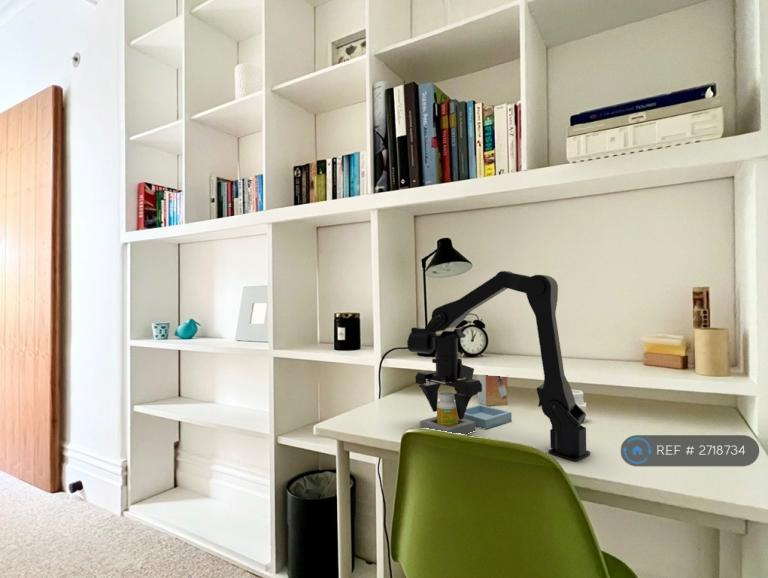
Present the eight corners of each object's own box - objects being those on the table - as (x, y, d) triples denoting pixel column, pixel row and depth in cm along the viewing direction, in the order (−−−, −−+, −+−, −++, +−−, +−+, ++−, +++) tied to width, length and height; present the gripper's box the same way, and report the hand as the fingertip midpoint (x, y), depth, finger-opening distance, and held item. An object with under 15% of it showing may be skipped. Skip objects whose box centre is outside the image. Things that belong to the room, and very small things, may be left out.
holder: (475, 431, 110) (475, 422, 110) (448, 440, 104) (448, 430, 104) (447, 422, 118) (447, 413, 118) (420, 430, 112) (420, 420, 112)
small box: (485, 406, 134) (485, 373, 134) (477, 402, 139) (476, 370, 139) (508, 404, 136) (507, 371, 136) (499, 400, 141) (498, 368, 142)
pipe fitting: (559, 422, 117) (559, 393, 117) (562, 415, 123) (561, 387, 123) (585, 425, 114) (584, 395, 114) (586, 418, 120) (586, 389, 120)
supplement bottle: (441, 435, 108) (440, 396, 108) (434, 428, 113) (433, 392, 113) (461, 433, 109) (460, 395, 109) (453, 427, 114) (453, 390, 114)
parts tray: (511, 421, 118) (511, 412, 118) (485, 429, 112) (485, 419, 112) (480, 412, 127) (480, 404, 127) (454, 420, 120) (454, 411, 120)
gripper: (495, 355, 109) (496, 417, 108) (442, 348, 123) (443, 402, 123) (466, 360, 102) (467, 426, 102) (413, 352, 116) (414, 409, 116)
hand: (447, 415), depth 111 cm, fingers open, 9 cm apart
